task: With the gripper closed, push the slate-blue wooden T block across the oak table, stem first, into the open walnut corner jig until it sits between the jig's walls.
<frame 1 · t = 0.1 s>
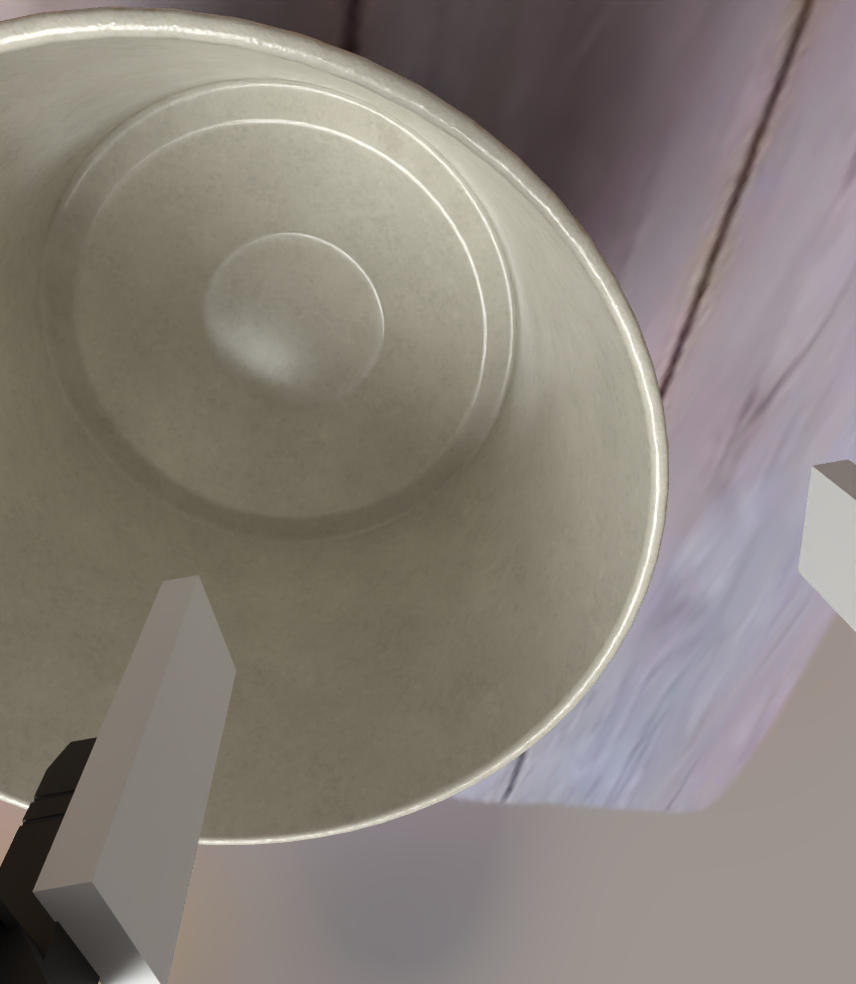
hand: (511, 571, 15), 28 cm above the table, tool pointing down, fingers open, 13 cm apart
planter: (295, 323, 40), on the table
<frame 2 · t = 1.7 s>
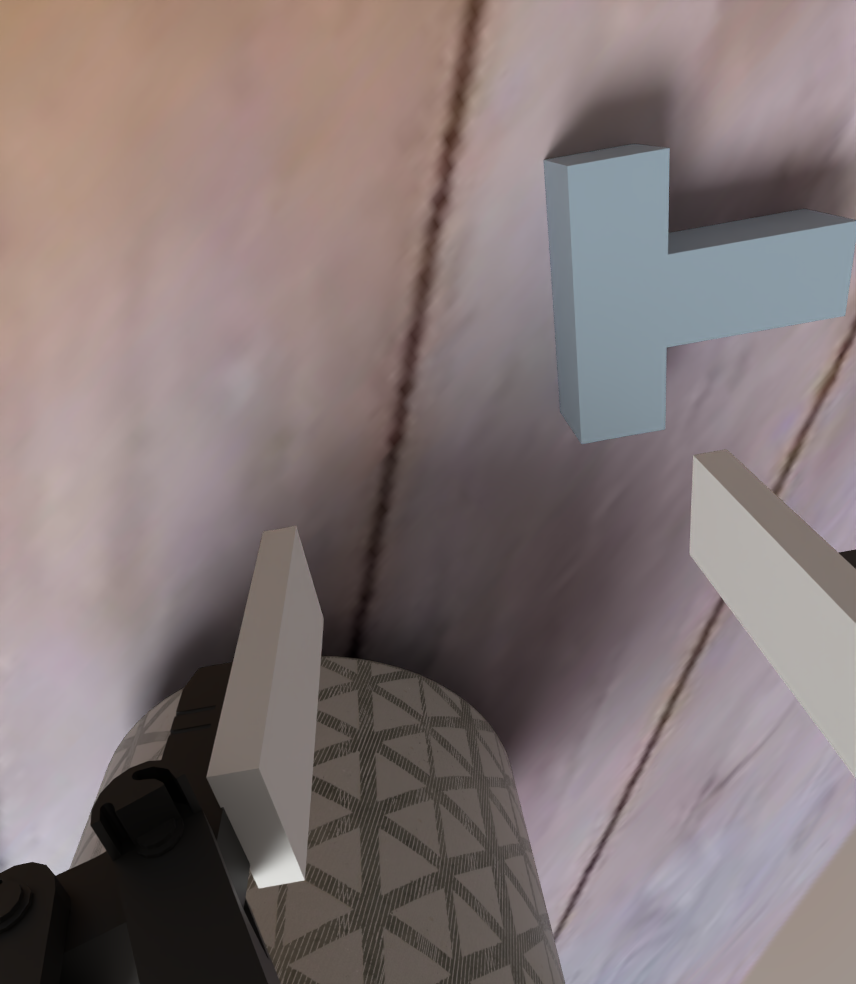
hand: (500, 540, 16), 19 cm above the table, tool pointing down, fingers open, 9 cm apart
t block: (676, 275, 33), on the table
planter: (317, 756, 47), on the table
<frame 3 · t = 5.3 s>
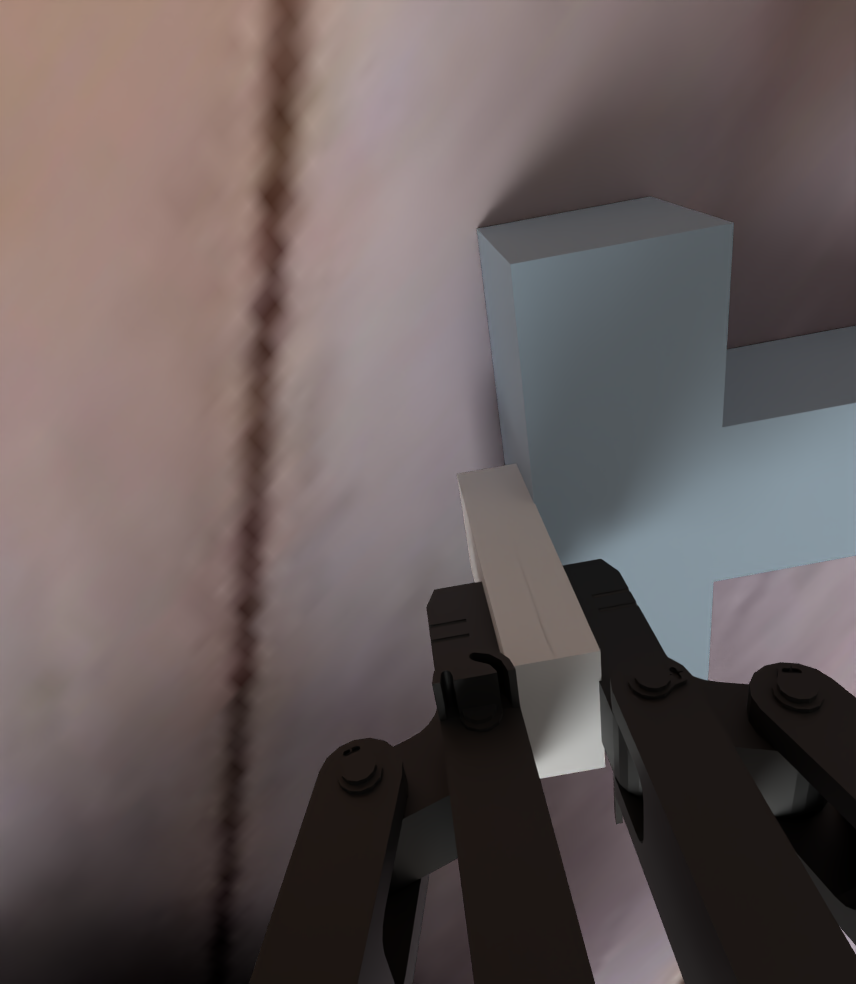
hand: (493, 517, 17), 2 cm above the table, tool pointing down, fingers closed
t block: (723, 420, 19), on the table, touching gripper
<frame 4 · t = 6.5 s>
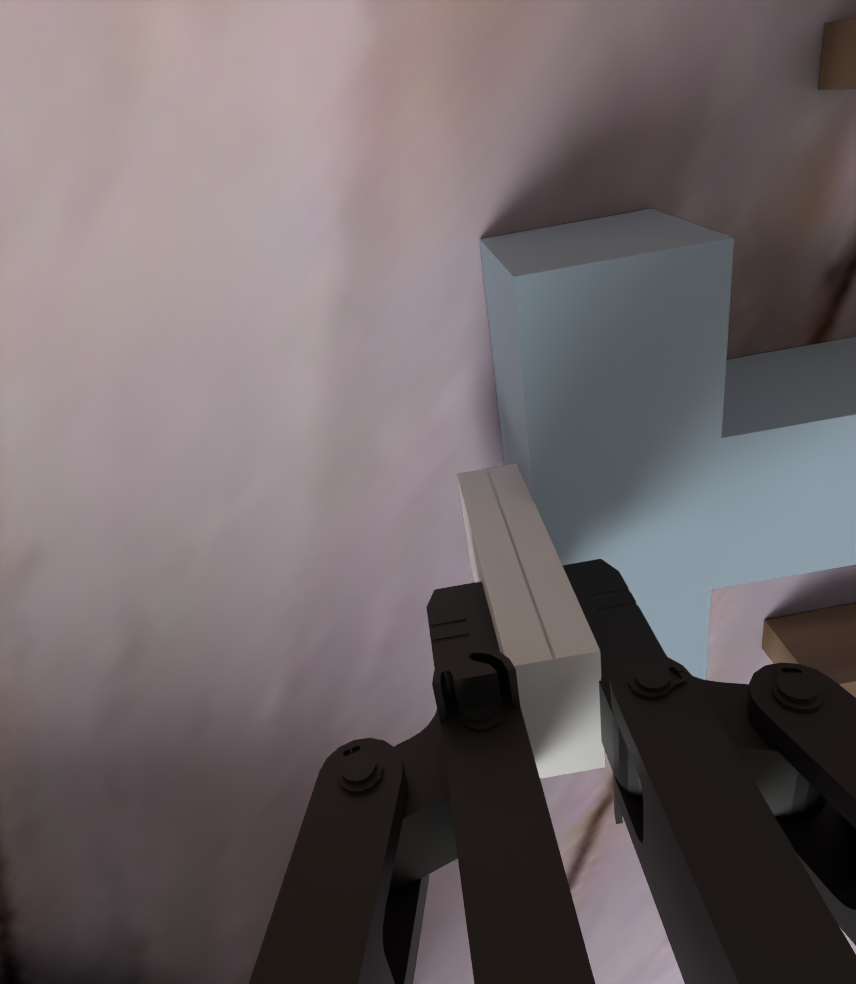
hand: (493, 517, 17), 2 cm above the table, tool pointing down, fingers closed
t block: (722, 429, 19), on the table, touching gripper
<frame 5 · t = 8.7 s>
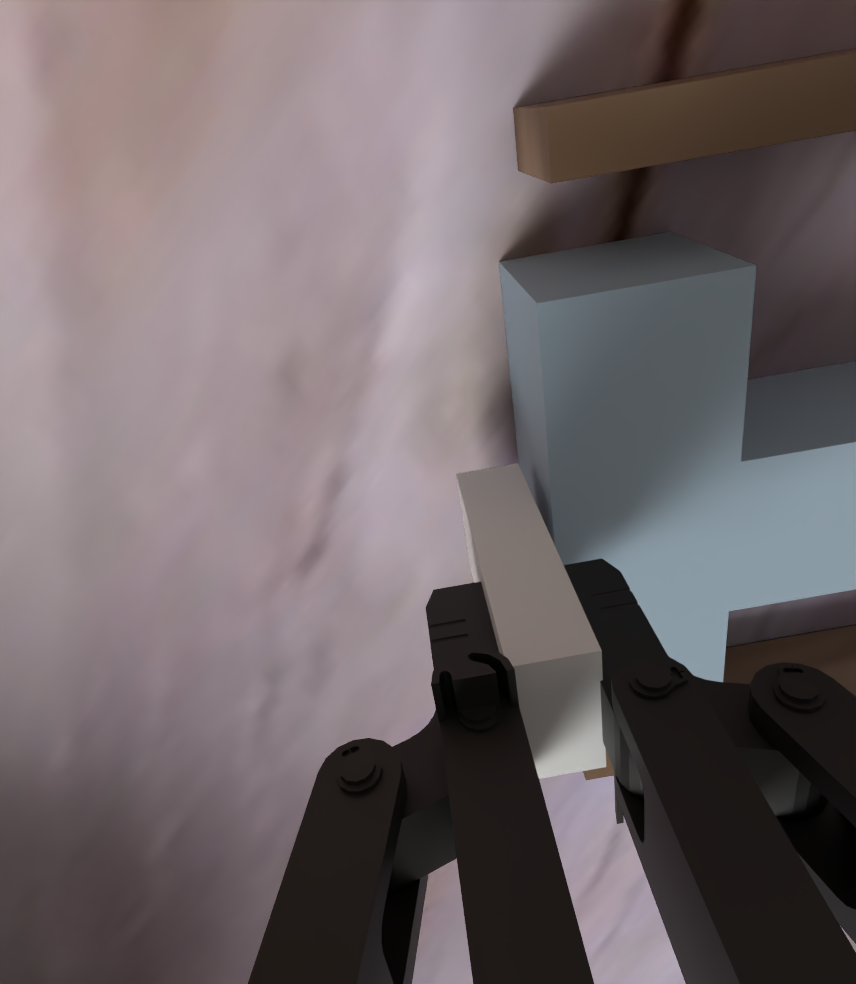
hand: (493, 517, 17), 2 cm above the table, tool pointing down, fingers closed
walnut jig: (805, 427, 19), on the table
t block: (737, 449, 19), on the table
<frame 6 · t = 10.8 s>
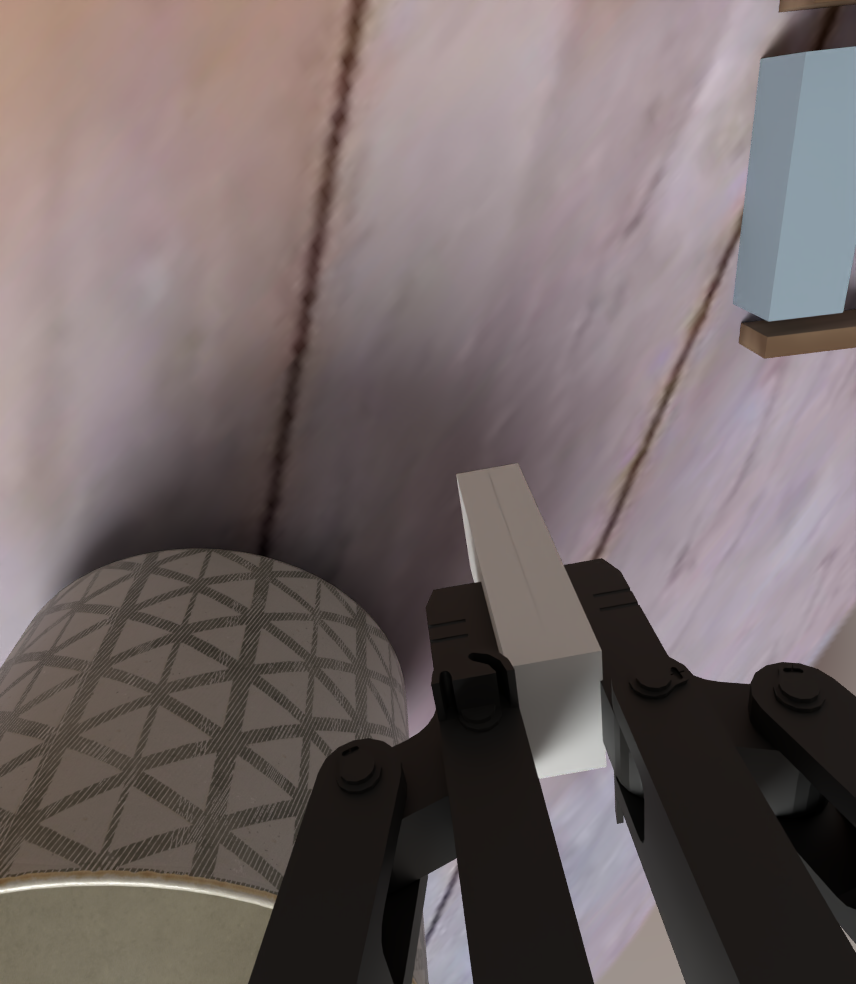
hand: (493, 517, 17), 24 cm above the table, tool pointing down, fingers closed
t block: (855, 178, 37), on the table
planter: (227, 664, 49), on the table
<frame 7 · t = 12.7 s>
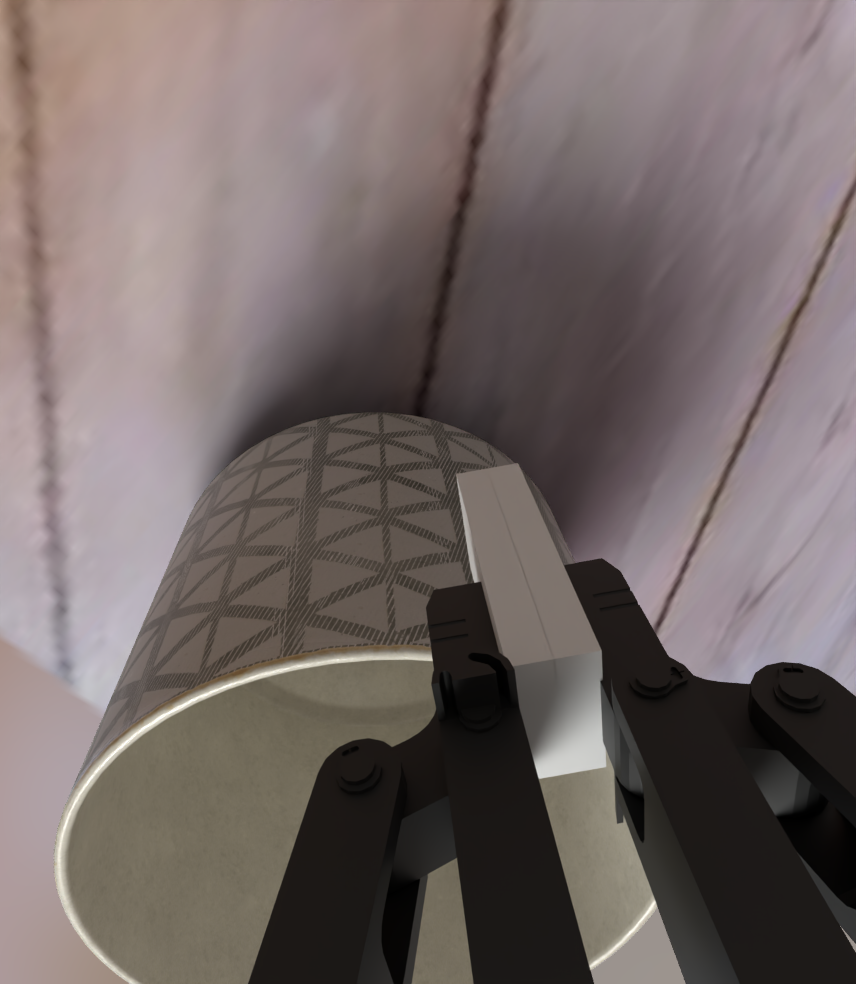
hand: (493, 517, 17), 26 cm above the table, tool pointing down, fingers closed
planter: (374, 553, 49), on the table
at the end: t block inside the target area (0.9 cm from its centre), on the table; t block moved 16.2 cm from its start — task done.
